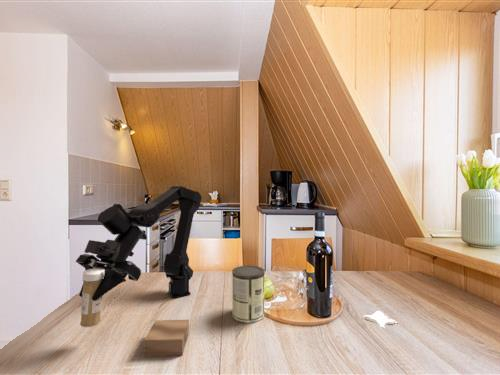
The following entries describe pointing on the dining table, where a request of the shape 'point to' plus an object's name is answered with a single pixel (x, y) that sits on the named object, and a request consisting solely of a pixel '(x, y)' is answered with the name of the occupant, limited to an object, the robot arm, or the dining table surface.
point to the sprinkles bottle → (89, 306)
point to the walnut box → (166, 338)
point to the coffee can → (248, 293)
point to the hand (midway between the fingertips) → (87, 298)
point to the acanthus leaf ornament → (379, 319)
